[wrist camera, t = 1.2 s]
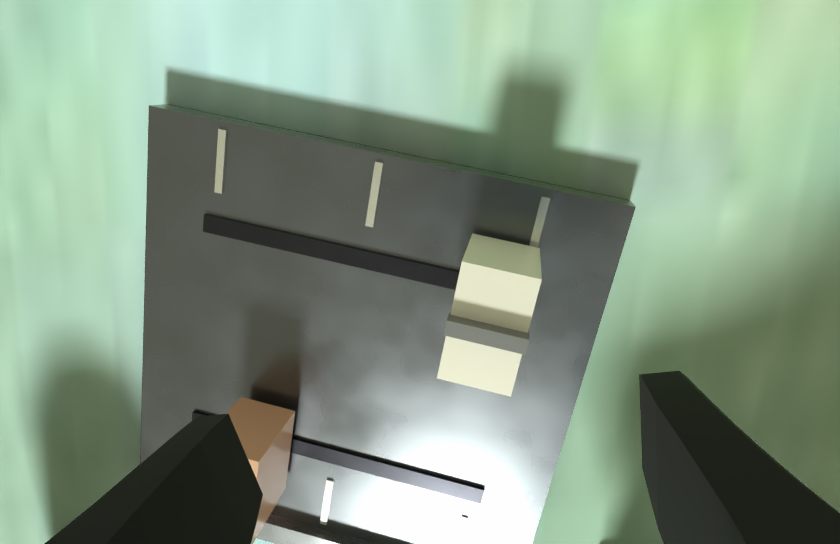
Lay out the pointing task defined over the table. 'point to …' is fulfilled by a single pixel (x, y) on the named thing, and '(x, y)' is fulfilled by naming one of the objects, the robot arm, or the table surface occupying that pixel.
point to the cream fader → (491, 314)
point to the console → (363, 324)
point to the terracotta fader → (265, 448)
